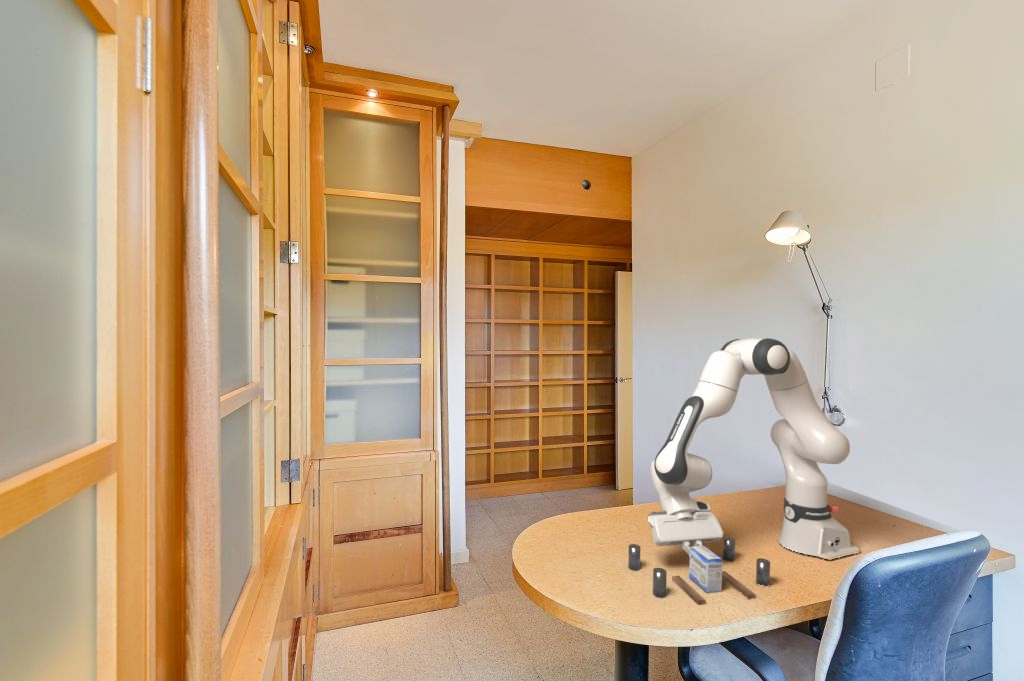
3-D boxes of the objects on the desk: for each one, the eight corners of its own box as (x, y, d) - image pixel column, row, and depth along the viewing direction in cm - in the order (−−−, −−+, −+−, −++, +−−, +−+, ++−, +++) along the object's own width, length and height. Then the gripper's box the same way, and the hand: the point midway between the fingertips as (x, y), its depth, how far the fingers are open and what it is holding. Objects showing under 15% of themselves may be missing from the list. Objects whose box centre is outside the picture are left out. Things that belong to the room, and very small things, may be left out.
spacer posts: (729, 556, 144) (730, 536, 144) (772, 586, 127) (773, 563, 127) (626, 565, 137) (626, 544, 137) (656, 598, 120) (657, 574, 120)
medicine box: (688, 578, 131) (689, 546, 131) (702, 576, 132) (703, 544, 132) (706, 593, 123) (707, 559, 123) (722, 591, 124) (723, 558, 124)
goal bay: (724, 574, 133) (725, 571, 133) (755, 598, 121) (755, 594, 121) (671, 579, 130) (672, 576, 130) (698, 604, 118) (698, 600, 118)
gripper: (649, 507, 137) (666, 557, 128) (714, 503, 141) (735, 552, 132) (641, 517, 141) (657, 566, 132) (704, 513, 146) (724, 560, 136)
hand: (697, 559), depth 132 cm, fingers closed, pressing on medicine box
